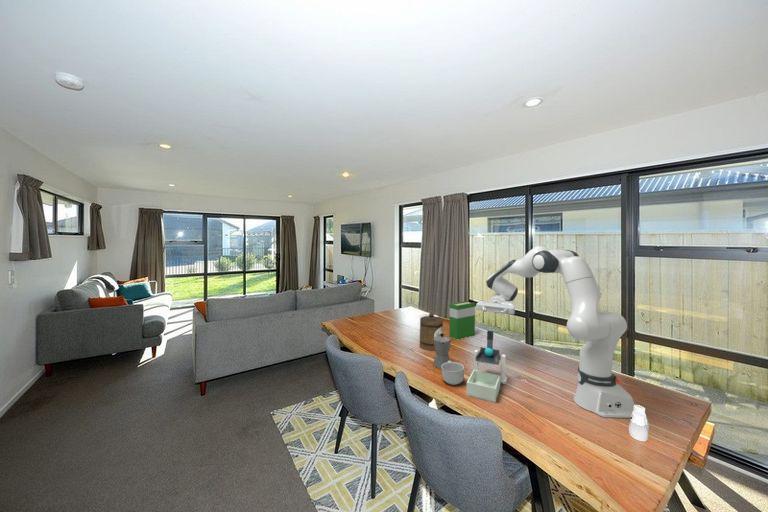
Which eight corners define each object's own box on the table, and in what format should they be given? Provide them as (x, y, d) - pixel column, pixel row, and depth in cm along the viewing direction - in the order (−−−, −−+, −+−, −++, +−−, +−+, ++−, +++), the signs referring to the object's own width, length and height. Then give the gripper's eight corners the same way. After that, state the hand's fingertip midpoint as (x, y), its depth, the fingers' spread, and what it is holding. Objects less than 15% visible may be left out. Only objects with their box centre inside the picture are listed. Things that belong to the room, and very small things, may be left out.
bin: (500, 387, 137) (500, 375, 137) (495, 402, 125) (495, 388, 124) (473, 381, 143) (473, 369, 143) (466, 395, 131) (466, 382, 130)
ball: (492, 356, 145) (492, 348, 146) (493, 357, 141) (494, 348, 142) (483, 355, 146) (484, 347, 147) (484, 355, 142) (485, 347, 143)
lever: (501, 362, 149) (502, 330, 149) (496, 374, 133) (497, 337, 134) (481, 359, 154) (482, 327, 154) (474, 369, 138) (475, 334, 139)
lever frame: (507, 378, 146) (507, 354, 145) (505, 384, 141) (506, 358, 140) (474, 371, 153) (474, 348, 153) (471, 376, 148) (472, 352, 148)
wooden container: (441, 351, 181) (441, 316, 180) (417, 349, 186) (417, 315, 185) (444, 343, 195) (444, 311, 194) (422, 341, 200) (422, 309, 199)
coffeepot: (452, 371, 154) (452, 337, 153) (434, 370, 155) (434, 337, 154) (448, 359, 170) (448, 328, 169) (432, 358, 171) (432, 328, 170)
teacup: (464, 388, 137) (464, 371, 136) (441, 386, 139) (441, 369, 138) (462, 374, 150) (462, 359, 150) (441, 373, 152) (441, 358, 152)
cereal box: (466, 332, 218) (467, 300, 216) (474, 335, 211) (475, 302, 210) (449, 337, 208) (449, 303, 207) (457, 340, 202) (457, 305, 201)
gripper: (478, 297, 174) (473, 303, 161) (515, 301, 164) (514, 308, 152) (477, 307, 174) (473, 314, 162) (515, 312, 165) (513, 320, 153)
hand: (493, 311), depth 157 cm, fingers open, 8 cm apart
